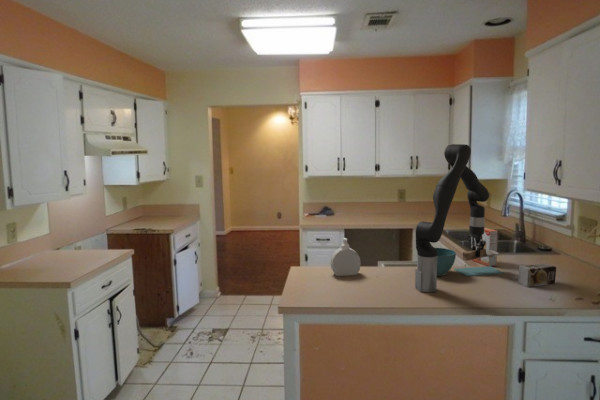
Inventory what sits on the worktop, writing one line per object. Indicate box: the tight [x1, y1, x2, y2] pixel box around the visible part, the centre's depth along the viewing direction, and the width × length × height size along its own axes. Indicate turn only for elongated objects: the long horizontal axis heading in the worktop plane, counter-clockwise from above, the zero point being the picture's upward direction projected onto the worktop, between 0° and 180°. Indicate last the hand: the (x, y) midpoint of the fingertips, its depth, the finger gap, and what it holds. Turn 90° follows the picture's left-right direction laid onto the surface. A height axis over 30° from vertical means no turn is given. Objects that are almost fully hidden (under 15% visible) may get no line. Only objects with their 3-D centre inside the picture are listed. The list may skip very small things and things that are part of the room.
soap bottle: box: [329, 237, 362, 277], centre depth 217 cm, size 16×5×20 cm, turn 97°
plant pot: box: [435, 247, 457, 277], centre depth 216 cm, size 18×18×12 cm
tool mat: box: [453, 266, 504, 277], centre depth 218 cm, size 22×12×1 cm, turn 98°
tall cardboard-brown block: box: [462, 248, 500, 262], centre depth 216 cm, size 18×7×4 cm, turn 98°
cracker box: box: [472, 227, 499, 267], centre depth 232 cm, size 14×6×21 cm, turn 17°
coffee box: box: [517, 263, 557, 288], centre depth 197 cm, size 9×6×16 cm
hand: (475, 255), depth 216 cm, fingers closed on tall cardboard-brown block, 3 cm apart
